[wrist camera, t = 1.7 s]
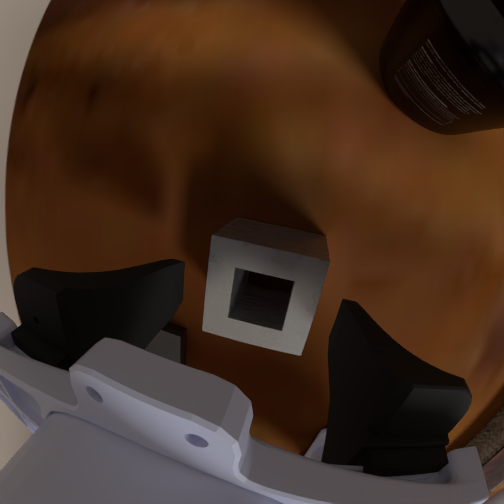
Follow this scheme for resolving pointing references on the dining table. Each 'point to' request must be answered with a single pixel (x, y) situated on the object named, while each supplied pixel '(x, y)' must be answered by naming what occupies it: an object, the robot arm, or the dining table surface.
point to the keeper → (169, 343)
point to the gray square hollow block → (261, 298)
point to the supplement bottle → (447, 64)
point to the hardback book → (491, 450)
